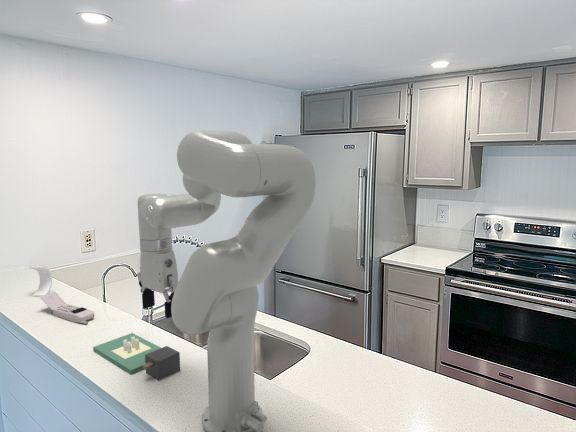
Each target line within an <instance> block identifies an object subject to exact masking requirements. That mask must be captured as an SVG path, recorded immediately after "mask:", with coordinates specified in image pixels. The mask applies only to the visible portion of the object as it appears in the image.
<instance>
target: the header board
mask: <svg viewBox="0 0 576 432" xmlns="http://www.w3.org/2000/svg"><path fill="white" fill-rule="evenodd" d="M92 348H93V350H92V351H93V352H94V353H96V354H98V355H99V356H100V357H102V358H103V359H106V360H107V361H109V362H110V363H111V364H113V365H115V366H116V367H118V368H120V369H122V370H123V371H125V372H126V373H128V374H130V375H134V374H137V373H139V372H141V371H143V370H146V369H145V368H143V367H142V365H143V364H145V355H146V354H148V353H151V352H153V351H155V350H158V349H160V348H162V347H160V346H159V345H157V344H155V343H153V342H151V341H149V340H147V339H146V338H143V337H141V336H139V335H138V334H135V333H133V332H131V333H129V334H126V335H122V336H120V337H118V338H114V339H111V340H109V341H106V342H104V343H101V344H98V345H95V346H93V347H92Z"/></svg>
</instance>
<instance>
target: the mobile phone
mask: <svg viewBox="0 0 576 432" xmlns="http://www.w3.org/2000/svg"><path fill="white" fill-rule="evenodd" d="M39 299H40V300H41V301H43V303H44V304H45V305H46V306H48V308H49V309H50V310H51V311H52V314H53V316H55V317H58V318H61V319H64V320H67V321H70V322H73V323H77V324H79V323H80V324H82V325H88V323H89V322H88V321H89V320H91V319H94V318H95V316H96V315H95V311H93V310H91V309H89V308H86V307H83V306H82V307H80V306H76V305H72V304H67V303H66V302H65V301H64V299H63V298H61V296H60V295H59V293H57V292H56V291H52V293H49V294H45V295H43V296H40V297H39Z"/></svg>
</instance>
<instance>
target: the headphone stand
mask: <svg viewBox="0 0 576 432" xmlns="http://www.w3.org/2000/svg"><path fill="white" fill-rule="evenodd" d="M29 269H30V270H34V271H35V270H36V272H37V274H38V275H39V285H38V287H37V290H36V291H35V292H34V293H33V294H32V295H31V296H32V298H40V296H43V295H45V294H49V293H52V292H53V291H52V290H51V288H52V284H53V275H52V271H51V270H50V268H48V266H37V265H36V266H35V265H34V266H29Z"/></svg>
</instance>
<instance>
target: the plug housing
mask: <svg viewBox="0 0 576 432" xmlns="http://www.w3.org/2000/svg"><path fill="white" fill-rule="evenodd" d="M180 356H181V355H180V351H178V350H176V349H174V348H171V347H169V345H166V346H163V347H161V348H160V349H158V350H155V351H153V352H151V353H148V354H146V355H145V364H143V365H142V367H143V368H145V369H144V370H145V373H146V375H149V376H150V377H152V378H154V380H157V381H158V382H159V381H161V380H164V379H165V378H167V377H170V376H172V375H174V374H176V373H178V372H180V371H181V357H180Z"/></svg>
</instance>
